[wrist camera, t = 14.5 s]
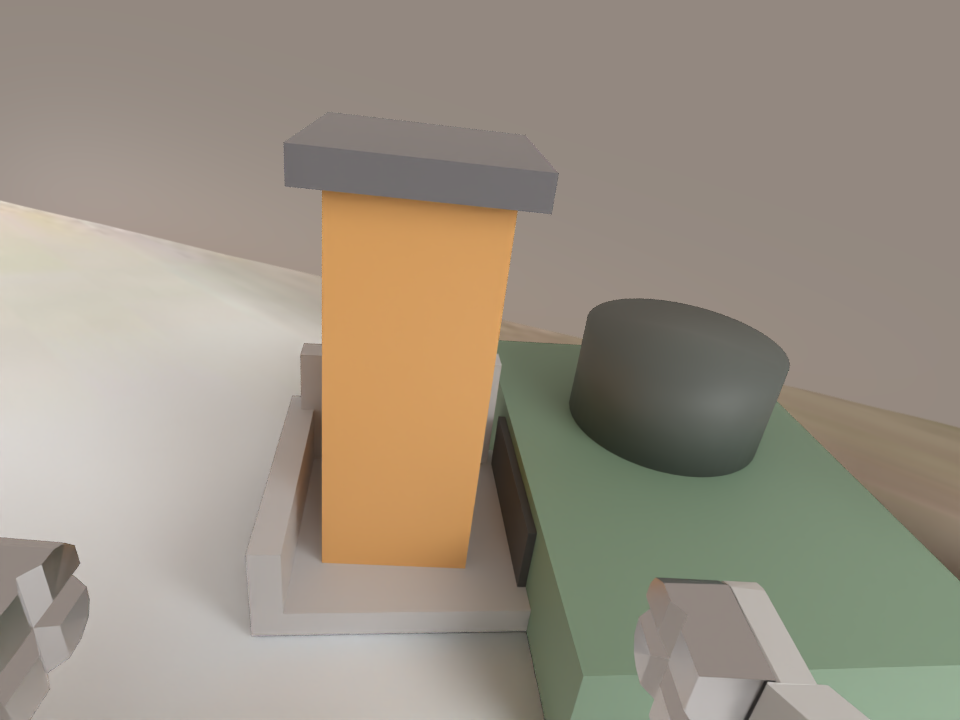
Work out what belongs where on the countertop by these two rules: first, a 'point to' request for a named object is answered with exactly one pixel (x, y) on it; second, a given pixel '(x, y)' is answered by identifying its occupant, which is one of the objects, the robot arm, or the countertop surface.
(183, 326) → the countertop surface
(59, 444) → the countertop surface
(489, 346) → the gray-capped orange pillar
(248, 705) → the countertop surface
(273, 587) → the green base with knob
